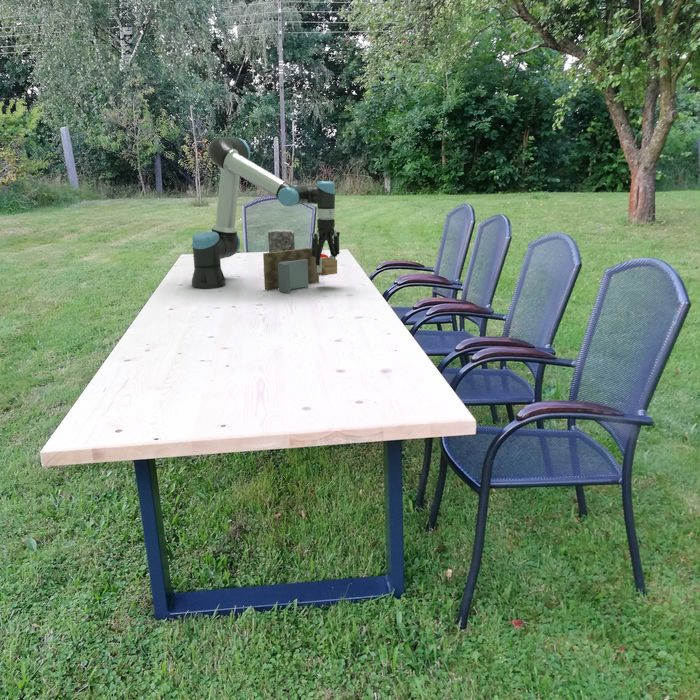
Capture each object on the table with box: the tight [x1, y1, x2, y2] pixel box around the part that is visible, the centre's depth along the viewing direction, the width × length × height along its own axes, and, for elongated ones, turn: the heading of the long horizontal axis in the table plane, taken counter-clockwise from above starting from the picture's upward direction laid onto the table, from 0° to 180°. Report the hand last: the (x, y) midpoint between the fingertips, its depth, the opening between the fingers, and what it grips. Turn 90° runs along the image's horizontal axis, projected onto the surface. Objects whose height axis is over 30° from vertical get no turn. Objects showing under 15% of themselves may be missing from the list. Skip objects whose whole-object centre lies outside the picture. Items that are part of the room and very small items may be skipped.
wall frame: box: [262, 247, 320, 291], centre depth 283 cm, size 28×2×16 cm, turn 128°
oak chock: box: [314, 257, 338, 276], centre depth 278 cm, size 9×6×6 cm, turn 38°
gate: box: [278, 259, 309, 294], centre depth 275 cm, size 15×6×12 cm, turn 128°
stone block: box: [267, 229, 296, 263], centre depth 322 cm, size 13×7×20 cm, turn 96°
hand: (325, 271), depth 278 cm, fingers closed on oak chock, 6 cm apart
